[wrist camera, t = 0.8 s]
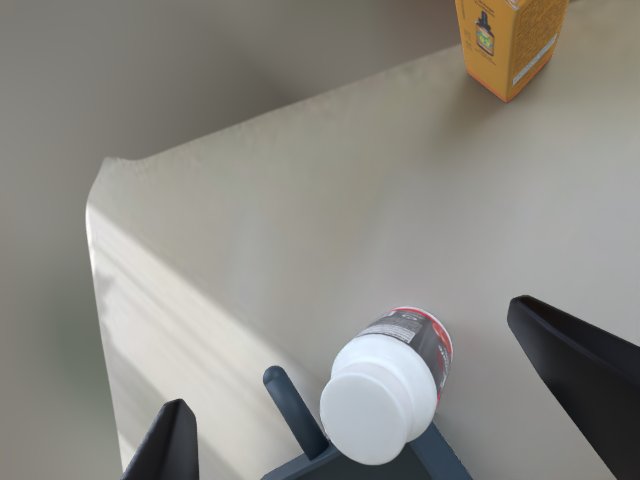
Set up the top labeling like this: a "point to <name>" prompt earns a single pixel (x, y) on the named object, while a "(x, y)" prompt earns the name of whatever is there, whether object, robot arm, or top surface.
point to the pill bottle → (386, 385)
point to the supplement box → (508, 40)
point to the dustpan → (339, 470)
